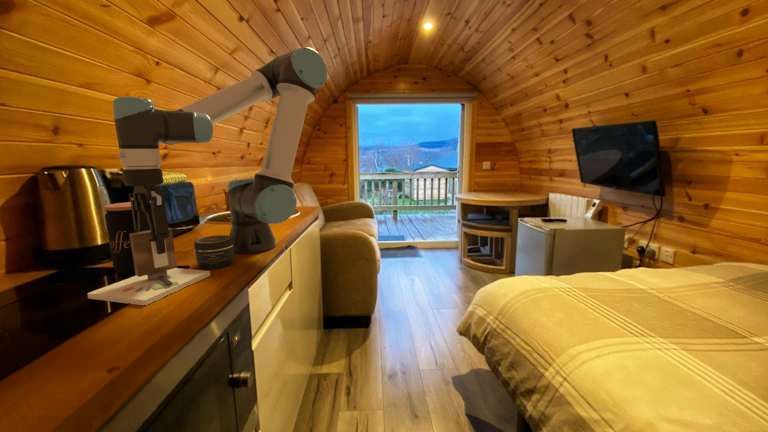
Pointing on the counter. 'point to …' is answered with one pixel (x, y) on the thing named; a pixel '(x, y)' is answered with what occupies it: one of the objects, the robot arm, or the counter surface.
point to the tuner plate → (148, 287)
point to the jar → (214, 251)
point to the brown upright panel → (151, 256)
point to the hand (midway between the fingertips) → (155, 263)
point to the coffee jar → (120, 235)
